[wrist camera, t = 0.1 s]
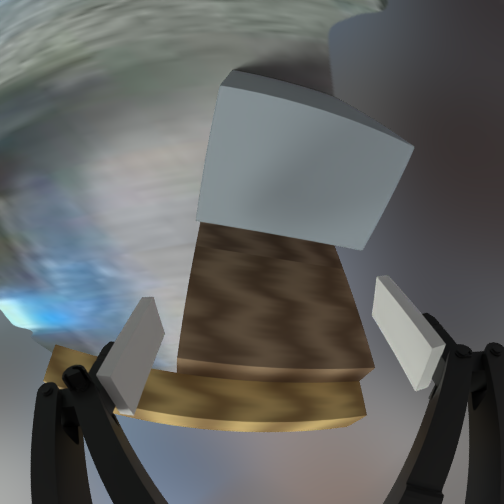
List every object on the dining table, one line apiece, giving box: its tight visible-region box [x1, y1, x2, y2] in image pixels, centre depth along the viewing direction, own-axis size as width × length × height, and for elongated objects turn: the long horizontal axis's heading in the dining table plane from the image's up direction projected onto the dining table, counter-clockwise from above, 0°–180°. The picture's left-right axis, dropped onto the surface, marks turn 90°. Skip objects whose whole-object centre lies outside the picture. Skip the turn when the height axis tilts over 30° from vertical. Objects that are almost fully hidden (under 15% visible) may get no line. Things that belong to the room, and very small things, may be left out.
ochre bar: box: [43, 345, 367, 432], centre depth 22 cm, size 30×4×4 cm, turn 77°
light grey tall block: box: [196, 70, 415, 251], centre depth 26 cm, size 14×10×20 cm
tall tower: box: [177, 222, 375, 383], centre depth 35 cm, size 18×10×28 cm, turn 77°
